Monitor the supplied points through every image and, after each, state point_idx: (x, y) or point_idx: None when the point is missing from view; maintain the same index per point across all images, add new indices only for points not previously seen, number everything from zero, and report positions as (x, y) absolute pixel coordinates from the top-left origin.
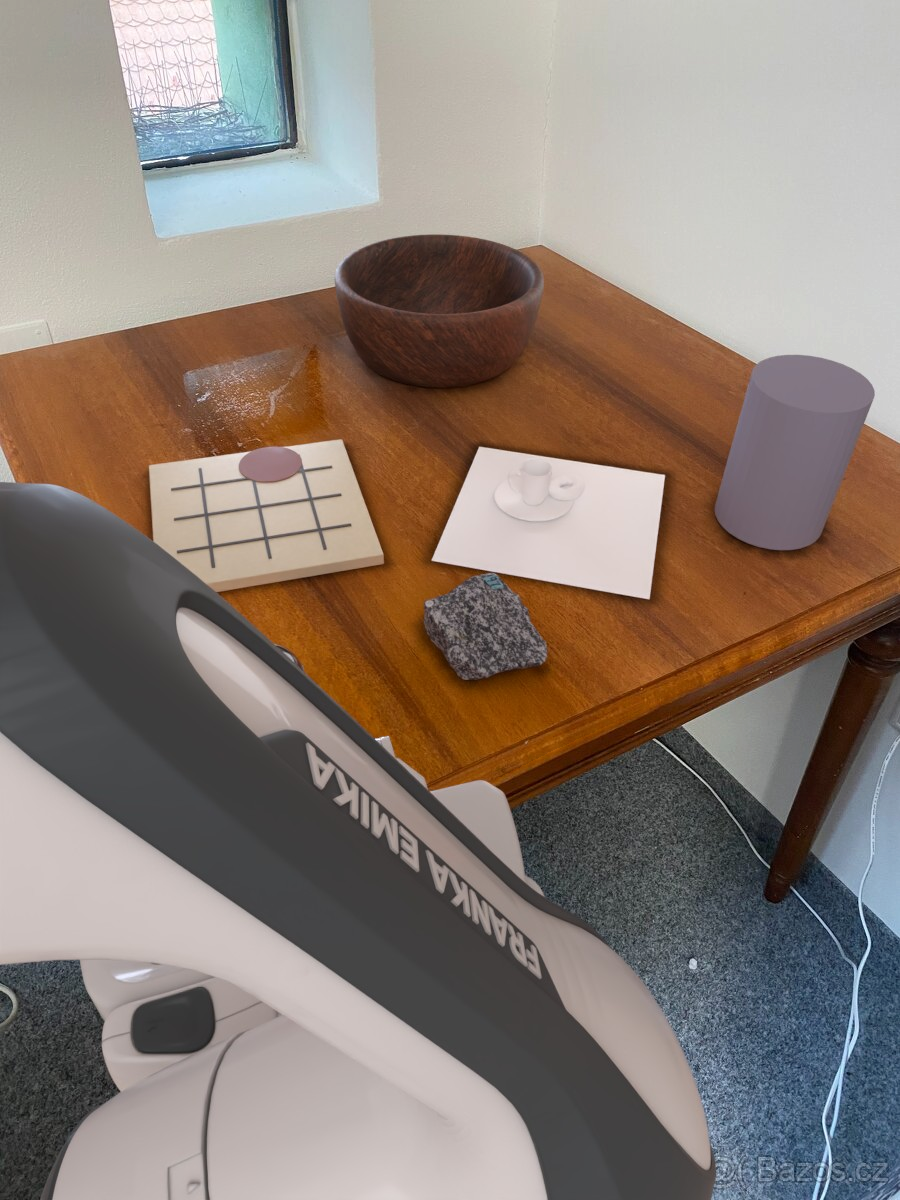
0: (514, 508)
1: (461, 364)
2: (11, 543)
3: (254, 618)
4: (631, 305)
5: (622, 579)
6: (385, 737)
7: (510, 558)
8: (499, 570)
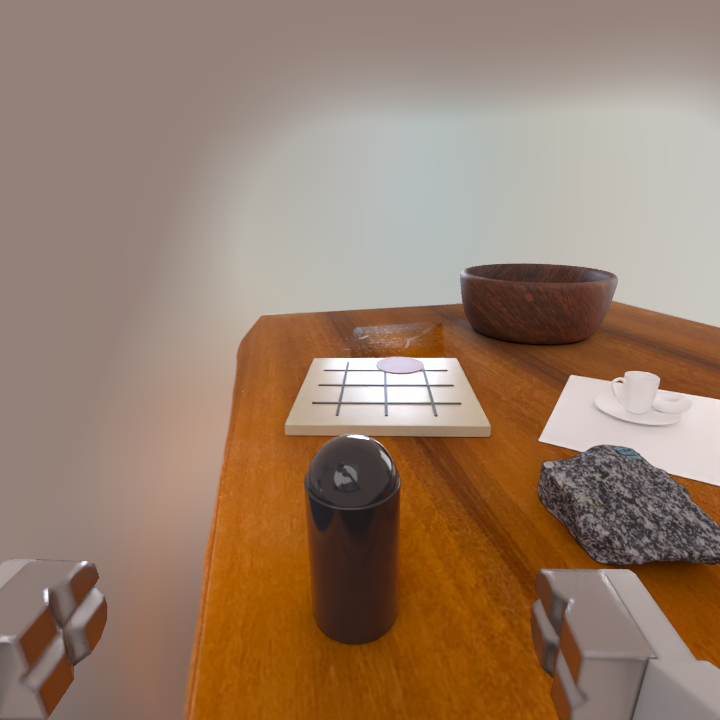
0: (618, 413)
1: (552, 323)
2: None
3: None
4: (675, 319)
5: None
6: (621, 572)
7: None
8: None
